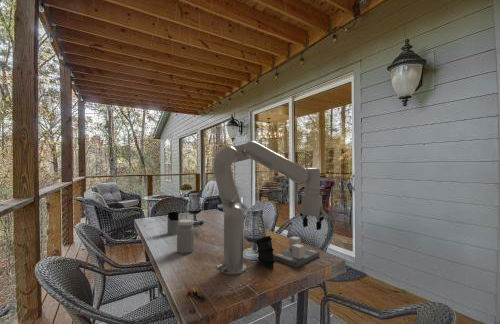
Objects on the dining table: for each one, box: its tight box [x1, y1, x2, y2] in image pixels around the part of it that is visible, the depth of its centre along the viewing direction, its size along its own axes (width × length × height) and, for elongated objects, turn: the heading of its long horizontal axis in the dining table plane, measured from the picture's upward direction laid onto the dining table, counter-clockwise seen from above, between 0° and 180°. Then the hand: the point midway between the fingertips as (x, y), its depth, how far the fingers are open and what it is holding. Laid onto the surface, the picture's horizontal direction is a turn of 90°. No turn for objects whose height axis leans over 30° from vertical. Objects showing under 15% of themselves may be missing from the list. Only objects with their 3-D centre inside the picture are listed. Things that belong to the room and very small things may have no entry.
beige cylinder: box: [289, 235, 302, 249], centre depth 144 cm, size 4×4×6 cm
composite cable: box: [186, 286, 206, 303], centre depth 96 cm, size 10×5×2 cm, turn 36°
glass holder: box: [166, 211, 188, 236], centre depth 183 cm, size 9×14×15 cm, turn 115°
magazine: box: [255, 235, 276, 270], centre depth 128 cm, size 4×13×15 cm, turn 26°
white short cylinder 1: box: [292, 244, 305, 259], centre depth 130 cm, size 4×4×6 cm
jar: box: [176, 218, 195, 255], centre depth 145 cm, size 10×10×18 cm
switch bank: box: [273, 247, 320, 268], centre depth 137 cm, size 22×15×3 cm
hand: (311, 227), depth 125 cm, fingers open, 6 cm apart
